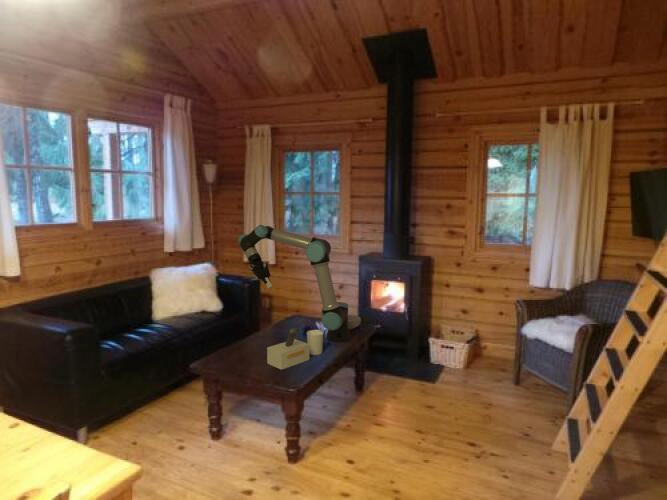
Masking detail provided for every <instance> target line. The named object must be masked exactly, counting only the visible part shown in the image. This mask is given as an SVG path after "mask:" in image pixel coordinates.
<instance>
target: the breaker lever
mask: <svg viewBox="0 0 667 500" xmlns="http://www.w3.org/2000/svg"><path fill="white" fill-rule="evenodd" d="M299 332H300V329H299V328H298V327H296V328H292V329H289V330H288V336H287V339H286V341H285V342H286V344H285V345H286V346H287V347H288V346H291V345H293V342H294V339H296V336H297V334H298V333H299Z"/></svg>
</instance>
